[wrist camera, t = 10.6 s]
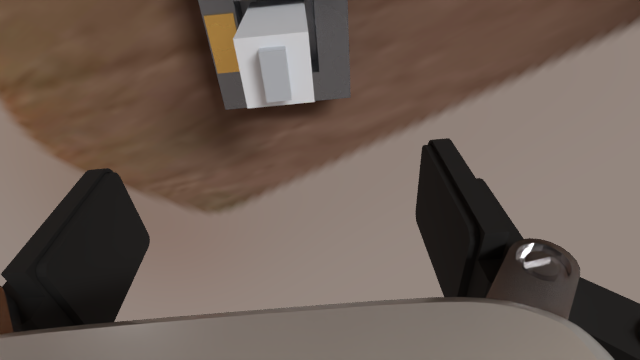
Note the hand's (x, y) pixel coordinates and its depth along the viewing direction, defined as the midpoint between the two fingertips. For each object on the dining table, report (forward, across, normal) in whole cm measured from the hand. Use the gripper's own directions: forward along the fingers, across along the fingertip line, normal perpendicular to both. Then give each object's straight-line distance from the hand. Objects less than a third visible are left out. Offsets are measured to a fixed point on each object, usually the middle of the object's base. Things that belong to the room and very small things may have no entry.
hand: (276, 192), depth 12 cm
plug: (+21, +1, 0) cm, 21 cm away
